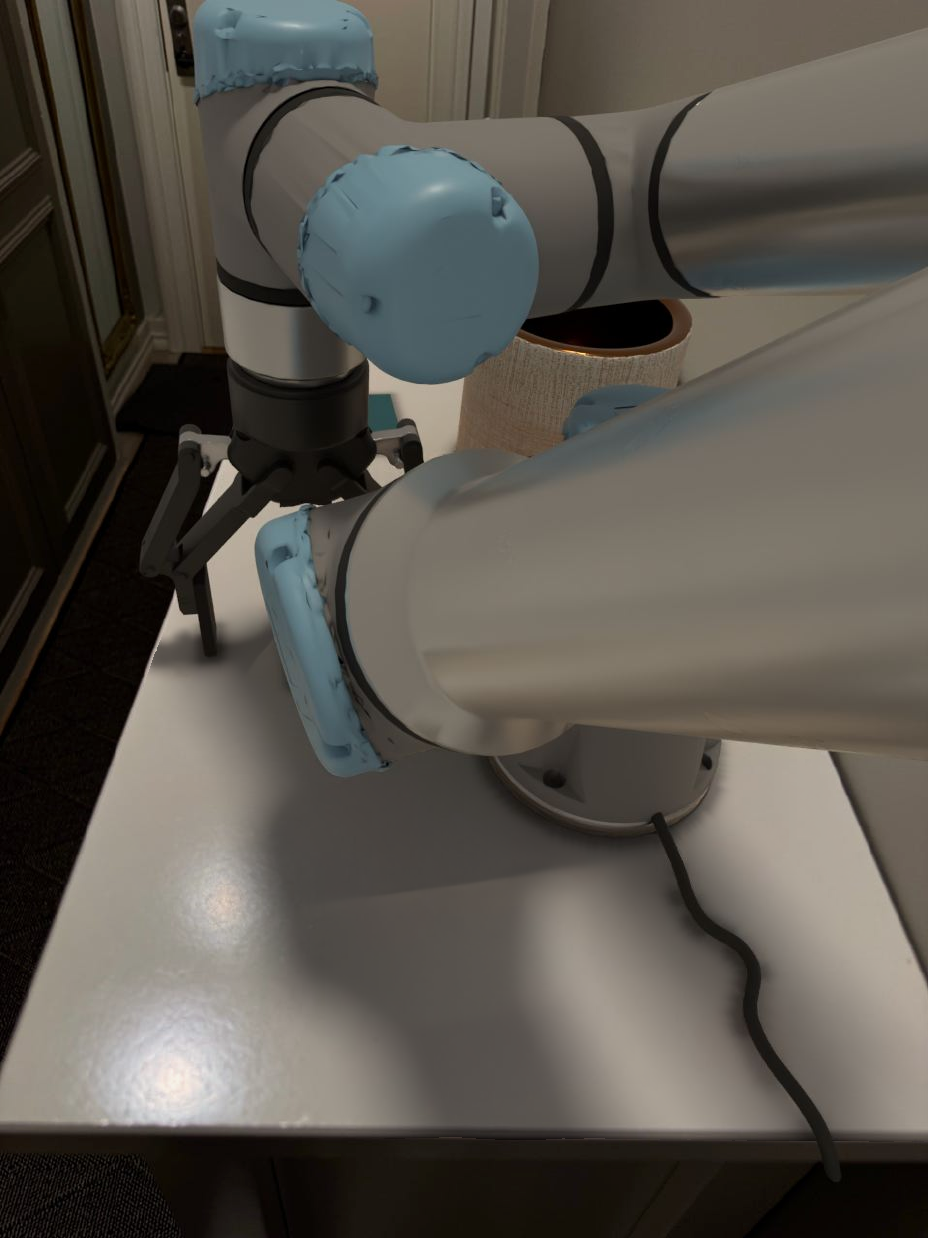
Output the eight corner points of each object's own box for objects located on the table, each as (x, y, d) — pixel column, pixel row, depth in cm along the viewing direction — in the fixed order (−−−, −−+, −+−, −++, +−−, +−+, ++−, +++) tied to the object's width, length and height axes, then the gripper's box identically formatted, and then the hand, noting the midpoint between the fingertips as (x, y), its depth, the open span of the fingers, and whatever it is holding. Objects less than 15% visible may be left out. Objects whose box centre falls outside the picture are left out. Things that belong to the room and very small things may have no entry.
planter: (678, 464, 81) (728, 302, 70) (593, 557, 69) (637, 381, 58) (518, 399, 87) (541, 241, 76) (416, 475, 75) (426, 302, 65)
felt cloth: (405, 452, 78) (405, 449, 78) (327, 454, 77) (327, 452, 76) (390, 396, 85) (390, 393, 85) (319, 397, 83) (319, 395, 83)
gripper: (508, 321, 50) (473, 586, 65) (55, 321, 45) (127, 609, 60) (541, 385, 45) (494, 658, 60) (34, 394, 40) (119, 690, 55)
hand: (311, 634), depth 60 cm, fingers open, 13 cm apart
